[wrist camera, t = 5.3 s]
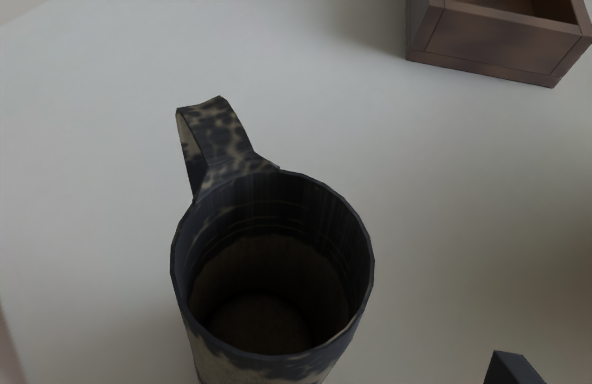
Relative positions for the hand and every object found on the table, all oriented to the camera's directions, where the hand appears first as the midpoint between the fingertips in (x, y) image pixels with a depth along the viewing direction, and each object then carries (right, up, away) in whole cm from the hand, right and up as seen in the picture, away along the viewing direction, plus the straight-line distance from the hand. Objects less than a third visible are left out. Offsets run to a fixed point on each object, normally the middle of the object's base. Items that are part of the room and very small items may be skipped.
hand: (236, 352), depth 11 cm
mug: (-1, -2, +9) cm, 10 cm away
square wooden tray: (+16, +18, +24) cm, 34 cm away
